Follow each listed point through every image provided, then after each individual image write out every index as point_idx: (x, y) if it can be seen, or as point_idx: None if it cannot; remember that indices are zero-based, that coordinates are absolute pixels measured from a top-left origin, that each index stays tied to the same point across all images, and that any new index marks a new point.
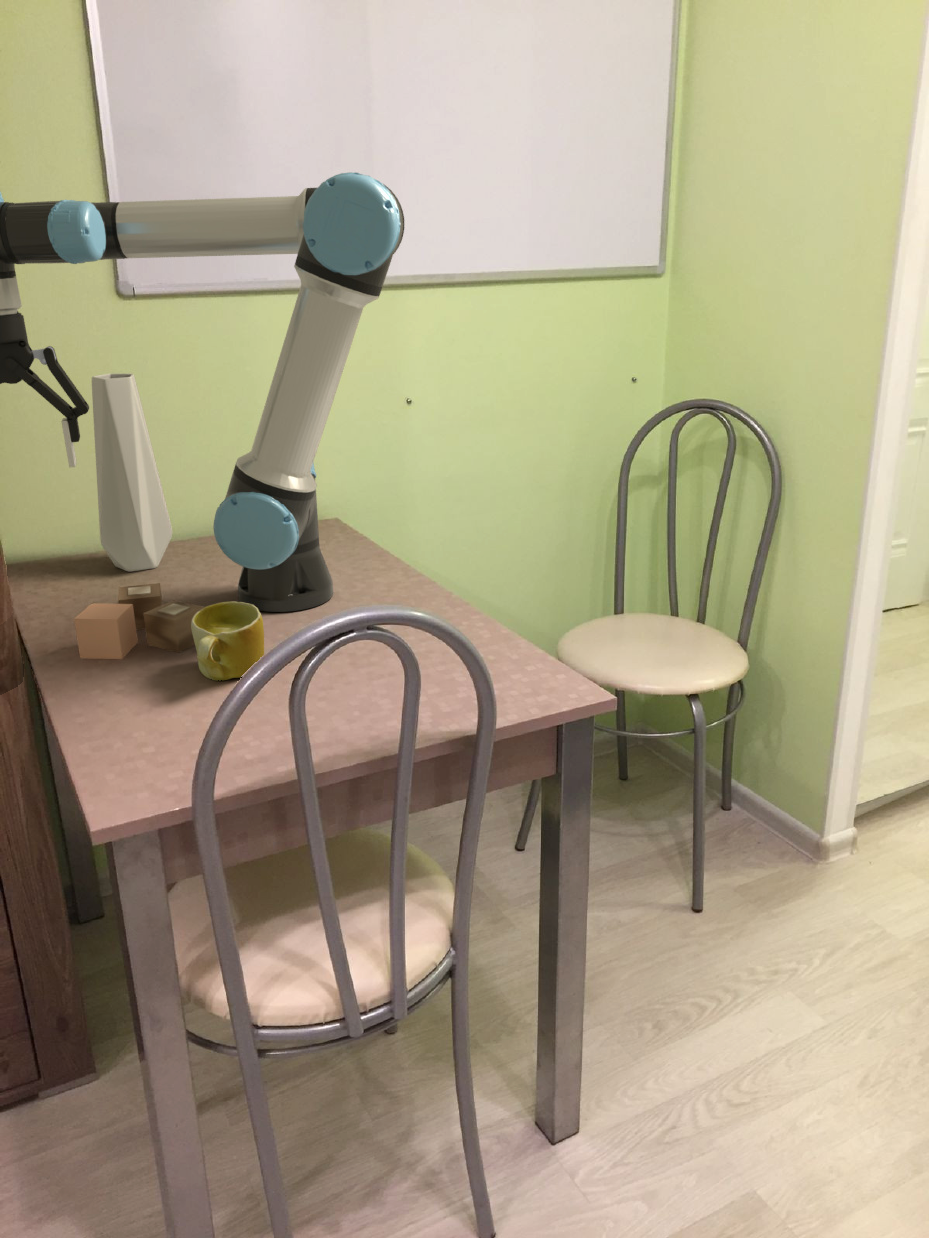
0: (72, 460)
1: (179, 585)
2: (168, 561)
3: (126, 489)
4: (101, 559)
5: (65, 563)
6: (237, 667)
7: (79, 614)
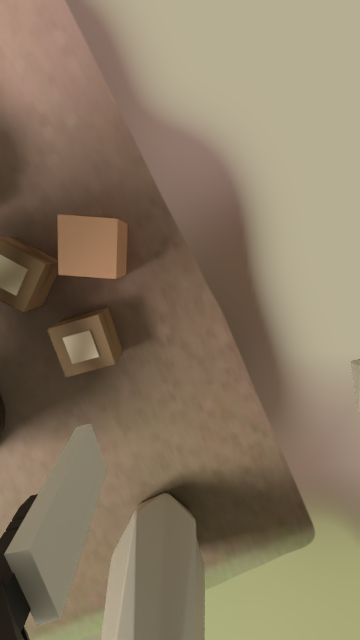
0: (73, 437)
1: None
2: None
3: (141, 602)
4: (215, 535)
5: (254, 523)
6: None
7: (116, 235)
